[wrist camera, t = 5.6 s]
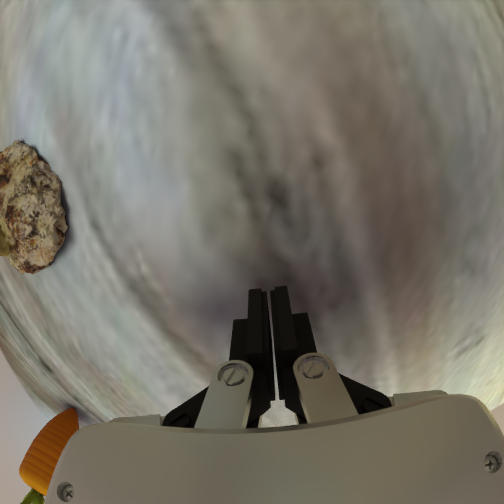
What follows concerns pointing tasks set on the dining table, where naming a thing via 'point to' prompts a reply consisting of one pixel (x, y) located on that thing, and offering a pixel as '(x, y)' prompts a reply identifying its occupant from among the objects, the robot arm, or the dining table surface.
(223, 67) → the dining table surface
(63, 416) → the carrot
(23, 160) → the mineral rock
